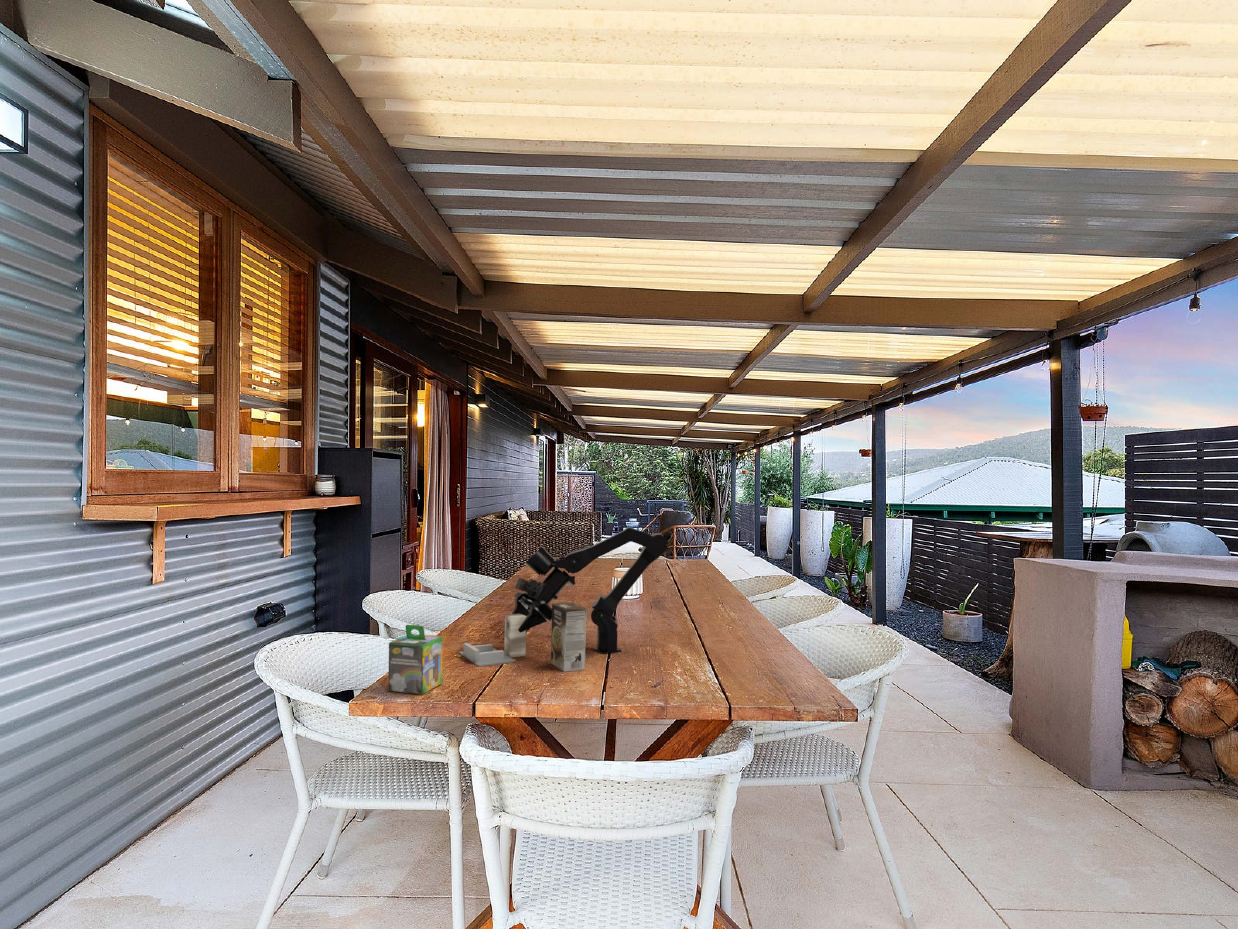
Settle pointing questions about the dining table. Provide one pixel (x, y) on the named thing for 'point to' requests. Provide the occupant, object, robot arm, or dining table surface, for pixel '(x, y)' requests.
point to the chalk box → (415, 662)
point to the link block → (514, 636)
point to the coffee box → (568, 636)
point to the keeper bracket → (485, 655)
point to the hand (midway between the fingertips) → (513, 628)
